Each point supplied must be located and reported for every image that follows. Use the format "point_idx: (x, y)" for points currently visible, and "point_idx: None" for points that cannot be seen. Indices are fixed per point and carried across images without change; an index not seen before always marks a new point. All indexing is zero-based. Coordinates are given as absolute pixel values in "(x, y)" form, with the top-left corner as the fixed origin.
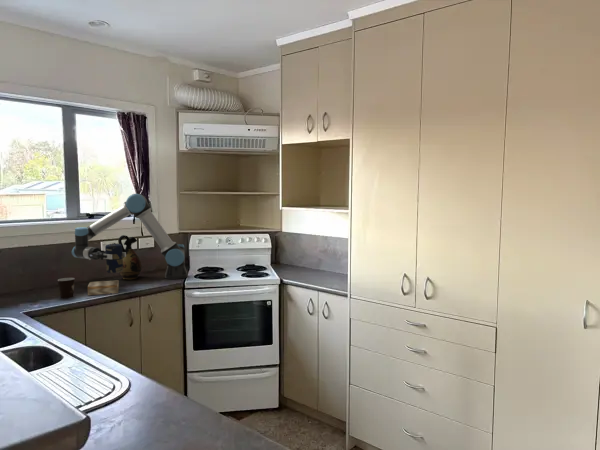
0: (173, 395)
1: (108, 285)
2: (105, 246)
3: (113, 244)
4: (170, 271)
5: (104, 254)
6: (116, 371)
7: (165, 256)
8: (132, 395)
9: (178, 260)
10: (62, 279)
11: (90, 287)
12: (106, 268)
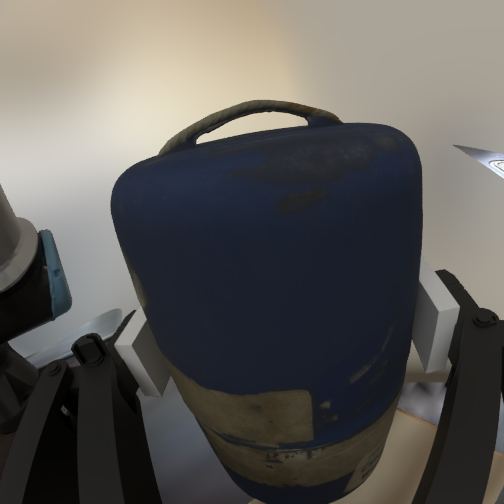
0: (471, 155)
1: (411, 418)
2: (409, 164)
3: (236, 139)
4: (14, 384)
5: (446, 295)
6: (495, 169)
7: (49, 278)
8: (489, 159)
9: (64, 274)
10: None
11: (499, 454)
12: (384, 446)
